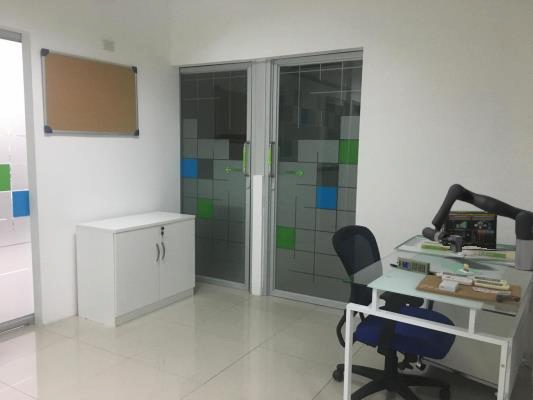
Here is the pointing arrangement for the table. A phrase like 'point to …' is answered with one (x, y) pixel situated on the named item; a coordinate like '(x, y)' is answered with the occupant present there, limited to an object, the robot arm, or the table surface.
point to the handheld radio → (413, 265)
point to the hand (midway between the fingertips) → (458, 242)
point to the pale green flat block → (460, 268)
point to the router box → (473, 228)
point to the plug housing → (456, 243)
